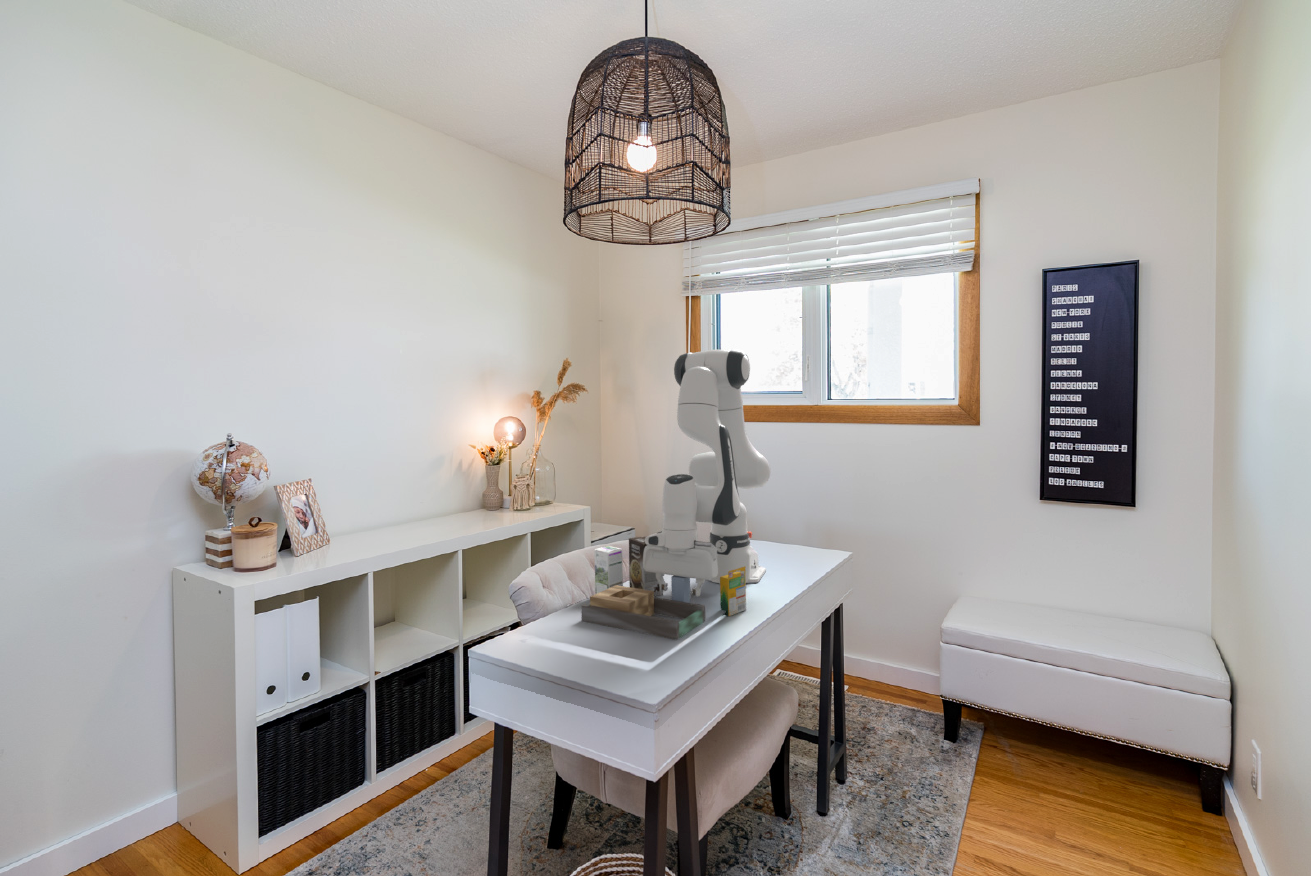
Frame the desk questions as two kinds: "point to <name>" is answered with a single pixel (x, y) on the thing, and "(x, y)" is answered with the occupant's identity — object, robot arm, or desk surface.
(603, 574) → the syrup box
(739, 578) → the crayon box
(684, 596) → the handle peg
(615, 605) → the slotted wooden block
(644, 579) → the coffee box
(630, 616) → the bay
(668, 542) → the robot arm
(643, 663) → the desk surface
